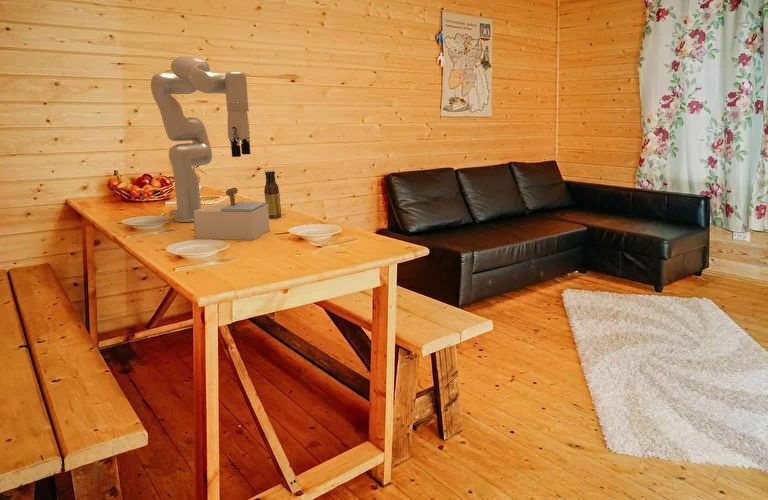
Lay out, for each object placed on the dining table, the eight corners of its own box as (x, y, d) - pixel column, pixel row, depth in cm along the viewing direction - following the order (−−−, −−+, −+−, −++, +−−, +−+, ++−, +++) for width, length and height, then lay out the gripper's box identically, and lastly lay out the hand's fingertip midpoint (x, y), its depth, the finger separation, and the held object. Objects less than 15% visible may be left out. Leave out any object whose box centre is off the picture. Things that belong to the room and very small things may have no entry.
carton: (195, 238, 208) (192, 210, 205) (214, 228, 223) (212, 203, 220) (253, 239, 204) (251, 211, 201) (269, 230, 219) (267, 203, 217)
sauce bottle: (277, 215, 248) (274, 169, 243) (284, 217, 243) (281, 170, 238) (263, 217, 244) (260, 170, 239) (270, 219, 239) (267, 172, 234)
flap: (221, 211, 204) (219, 191, 202) (238, 203, 218) (236, 185, 216) (251, 211, 202) (250, 191, 200) (266, 204, 216) (265, 185, 214)
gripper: (236, 107, 214) (240, 153, 219) (218, 108, 198) (222, 157, 202) (255, 107, 213) (259, 153, 218) (238, 107, 197) (242, 157, 201)
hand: (241, 155), depth 210 cm, fingers open, 9 cm apart
